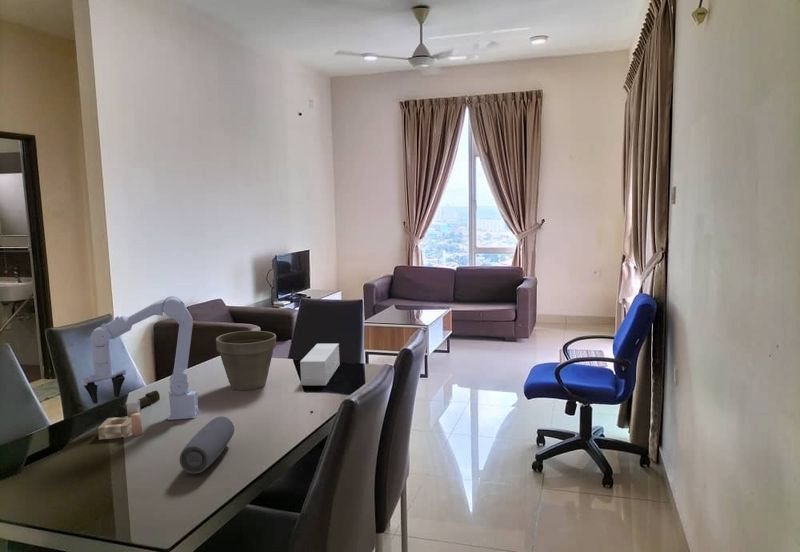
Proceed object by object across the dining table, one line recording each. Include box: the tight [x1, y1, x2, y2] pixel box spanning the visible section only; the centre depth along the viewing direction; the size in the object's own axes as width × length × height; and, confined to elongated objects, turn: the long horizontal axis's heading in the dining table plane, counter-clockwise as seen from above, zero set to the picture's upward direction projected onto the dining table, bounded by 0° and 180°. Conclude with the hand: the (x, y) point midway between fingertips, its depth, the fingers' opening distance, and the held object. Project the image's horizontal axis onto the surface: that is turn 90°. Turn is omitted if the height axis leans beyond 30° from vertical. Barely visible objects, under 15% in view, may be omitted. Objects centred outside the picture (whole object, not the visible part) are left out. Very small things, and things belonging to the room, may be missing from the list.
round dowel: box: [131, 412, 143, 436], centre depth 189 cm, size 3×3×7 cm
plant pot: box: [215, 330, 277, 391], centre depth 239 cm, size 25×25×22 cm
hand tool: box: [117, 390, 161, 417], centre depth 215 cm, size 19×4×5 cm, turn 157°
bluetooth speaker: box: [178, 415, 235, 474], centre depth 168 cm, size 23×9×10 cm, turn 178°
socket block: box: [97, 416, 132, 440], centre depth 190 cm, size 9×9×4 cm
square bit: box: [126, 399, 142, 417], centre depth 199 cm, size 3×3×8 cm
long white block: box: [299, 343, 341, 386], centre depth 254 cm, size 32×11×11 cm, turn 176°
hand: (106, 399), depth 195 cm, fingers open, 7 cm apart
